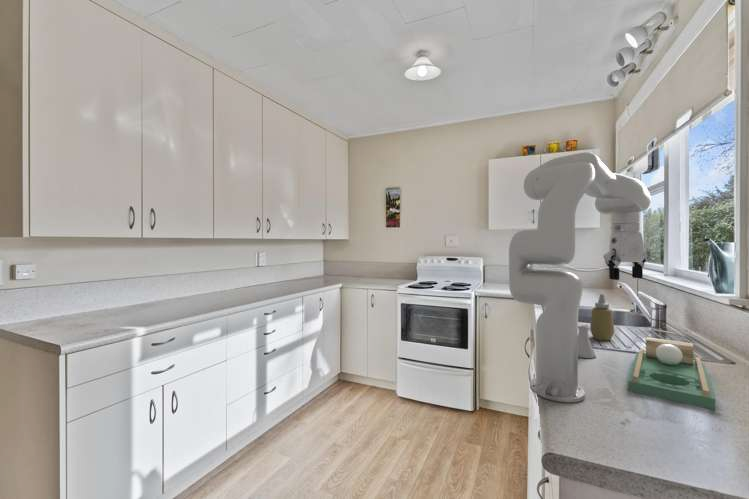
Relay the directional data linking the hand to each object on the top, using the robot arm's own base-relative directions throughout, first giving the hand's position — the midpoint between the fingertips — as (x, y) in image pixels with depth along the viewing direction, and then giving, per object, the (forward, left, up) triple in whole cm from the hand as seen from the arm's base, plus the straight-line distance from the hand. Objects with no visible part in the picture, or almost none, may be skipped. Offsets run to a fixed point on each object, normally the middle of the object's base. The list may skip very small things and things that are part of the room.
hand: (625, 278), depth 114 cm
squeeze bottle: (+17, +9, -26) cm, 33 cm away
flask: (-10, +11, -26) cm, 30 cm away
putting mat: (-19, -11, -26) cm, 34 cm away
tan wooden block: (-7, -11, -23) cm, 27 cm away
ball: (-12, -11, -21) cm, 26 cm away
